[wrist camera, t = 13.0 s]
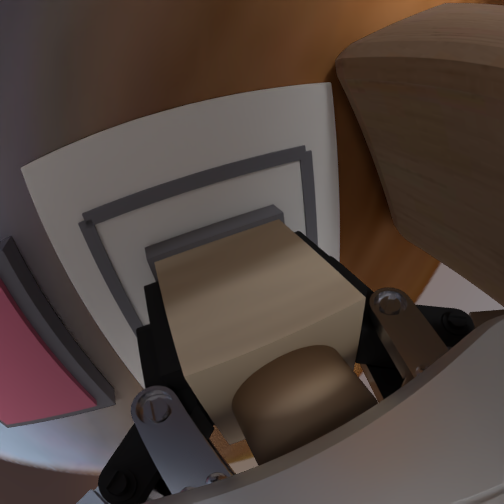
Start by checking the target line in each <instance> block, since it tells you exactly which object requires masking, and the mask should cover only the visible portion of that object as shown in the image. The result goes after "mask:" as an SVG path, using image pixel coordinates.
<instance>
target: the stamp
mask: <svg viewBox="0 0 504 504" xmlns="http://www.w3.org/2000/svg"><path fill="white" fill-rule="evenodd" d="M145 253H146V259H147V262H148V264H149V267H150V269H151V271H152V274H153V276H154V279H155V281H156V282H157V281H159V286H160V290H161V294H162V299H163V303H164V307H165V311H166V315H167V319H168V322H169V326H170V330H171V334H172V337H173V341H174V345H175V348H176V352H177V355H178V358H179V362H180V365H181V368H182V372H183V375H184V378H185V379H186V381H187V382H188V384H189V386H190V387H191V389H192V390H193V392H194V394H195V395H196V397H197V398H198V400H199V401H200V403H201V404H202V406H203V407H204V409H205V410H206V412H207V413H208V415H209V416H210V418H211V419H212V421H213V422H214V424H215V425H216V427H217V428H218V429H219V431H220V432H221V434H222V435H223V437H224V438H225V439H226V441H227V442H228V443H229V445H231V444H233V443H236V442H239V441H241V440H244V439H246V441H247V443H248V445H249V447H250V449H251V451H252V453H253V455H254V457H255V459H256V461H257V463H258V465H259V466H260V465H262V464H264V463H267V462H269V461H272V460H274V459H276V458H279V457H281V456H283V455H285V454H287V453H290V452H292V451H294V450H296V449H298V448H300V447H302V446H304V445H306V444H308V443H310V442H312V441H314V440H316V439H318V438H320V437H322V436H324V435H326V434H328V433H329V432H331V431H333V430H335V429H337V428H338V427H340V426H342V425H344V424H346V423H347V422H349V421H351V420H352V419H354V418H356V417H357V416H359V415H361V414H362V413H364V412H365V411H367V410H369V409H370V408H372V407H373V406H375V405H376V404H378V402H377V400H376V398H375V397H374V396H373V395H372V393H371V392H370V391H369V390H368V389H367V388H366V386H365V385H364V384H363V382H362V381H361V380H360V379H359V377H358V376H357V375H356V374H355V372H354V371H353V370H354V365H355V360H356V355H357V349H358V344H359V338H360V332H361V326H362V320H363V313H364V307H365V299H366V297H365V296H364V295H362V294H361V293H360V292H359V291H358V290H357V289H356V288H355V287H354V286H353V285H352V284H351V283H350V282H349V281H347V280H346V279H345V278H344V277H343V276H342V275H341V274H340V273H339V272H338V271H337V270H335V269H334V268H333V267H332V266H331V265H330V264H329V263H328V262H327V261H326V260H324V259H323V258H322V257H321V256H320V255H319V254H318V253H317V252H316V251H314V250H313V249H312V248H311V247H310V246H309V245H308V244H307V243H306V242H304V241H303V240H302V239H301V238H300V237H299V236H298V235H296V234H295V233H294V232H293V231H292V230H291V229H290V228H288V227H287V226H286V225H285V222H284V213H283V212H282V211H281V210H280V209H279V208H277V207H276V206H275V205H274V204H272V205H269V206H266V207H263V208H260V209H256V210H253V211H250V212H247V213H244V214H241V215H238V216H235V217H232V218H229V219H226V220H223V221H220V222H217V223H214V224H211V225H208V226H205V227H202V228H199V229H196V230H193V231H190V232H187V233H184V234H181V235H179V236H176V237H173V238H170V239H167V240H164V241H161V242H159V243H156V244H153V245H150V246H148V247H145Z"/></svg>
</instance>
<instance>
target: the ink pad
mask: <svg viewBox="0 0 504 504" xmlns="http://www.w3.org/2000/svg"><path fill="white" fill-rule="evenodd" d="M113 405H116V403H115V394H114V388H113V387H112V386H111V385H110V384H109V383H108V382H107V380H106V379H105V378H104V377H103V376H102V375H101V373H100V372H99V371H98V370H97V369H96V367H95V366H94V365H93V364H92V362H91V361H90V360H89V359H88V357H87V356H86V355H85V354H84V352H83V351H82V350H81V349H80V347H79V346H78V345H77V343H76V342H75V341H74V339H73V338H72V336H71V335H70V334H69V332H68V331H67V330H66V328H65V327H64V325H63V324H62V322H61V321H60V319H59V318H58V317H57V315H56V314H55V312H54V311H53V309H52V308H51V306H50V304H49V303H48V301H47V300H46V298H45V297H44V295H43V293H42V292H41V290H40V288H39V287H38V285H37V283H36V282H35V280H34V278H33V277H32V275H31V273H30V271H29V269H28V268H27V266H26V264H25V262H24V260H23V258H22V257H21V255H20V253H19V251H18V249H17V247H16V245H15V243H14V241H13V239H12V237H11V236H10V237H8V238H6V239H4V240H3V241H1V242H0V422H1V423H2V424H3V425H5V426H6V427H7V428H9V427H16V426H22V425H28V424H34V423H39V422H44V421H49V420H54V419H59V418H64V417H68V416H73V415H77V414H81V413H85V412H90V411H94V410H97V409H101V408H105V407H109V406H113Z"/></svg>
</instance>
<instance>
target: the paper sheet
mask: <svg viewBox="0 0 504 504" xmlns="http://www.w3.org/2000/svg"><path fill="white" fill-rule="evenodd" d="M21 171H22V174H23V177H24V180H25V182H26V185H27V188H28V190H29V193H30V195H31V198H32V200H33V203H34V205H35V208H36V210H37V213H38V215H39V217H40V219H41V222H42V224H43V226H44V228H45V231H46V233H47V235H48V237H49V239H50V241H51V243H52V245H53V247H54V250H55V252H56V254H57V256H58V257H59V259H60V261H61V263H62V265H63V267H64V269H65V271H66V273H67V275H68V276H69V278H70V280H71V282H72V284H73V285H74V287H75V289H76V291H77V292H78V294H79V296H80V297H81V299H82V301H83V303H84V304H85V306H86V307H87V309H88V311H89V312H90V314H91V316H92V317H93V319H94V320H95V322H96V323H97V325H98V326H99V328H100V330H101V331H102V333H103V334H104V336H105V337H106V338H107V340H108V341H109V343H110V344H111V346H112V347H113V349H114V350H115V351H116V353H117V354H118V356H119V357H120V358H121V360H122V361H123V362H124V364H125V365H126V367H127V368H128V369H129V370H130V372H131V373H132V374H133V376H134V377H135V378H136V380H137V381H138V382H139V383H140V385H141V386H142V387H143V388H144V389H145V384H144V379H143V373H142V368H141V362H140V355H139V349H138V342H137V335H136V329H137V328H139V327H142V326H144V325H147V324H150V322H149V316H148V311H147V305H146V299H145V292H144V286H145V285H148V284H151V283H154V282H156V281H155V279H154V276H153V274H152V271H151V269H150V267H149V264H148V262H147V259H146V253H145V247H148V246H150V245H153V244H156V243H159V242H161V241H164V240H167V239H170V238H173V237H176V236H179V235H181V234H184V233H187V232H190V231H193V230H196V229H199V228H202V227H205V226H208V225H211V224H214V223H217V222H220V221H223V220H226V219H229V218H232V217H235V216H238V215H241V214H244V213H247V212H250V211H253V210H256V209H260V208H263V207H266V206H269V205H272V204H274V205H275V206H276V207H277V208H279V209H280V210H281V211H282V212H283V213H284V222H285V225H286V226H287V227H288V228H290V229H291V230H292V231H293V232H296V231H300V232H302V233H303V234H304V235H305V236H306V237H308V238H309V239H310V240H311V241H312V242H314V243H315V244H316V245H317V246H318V247H319V248H321V249H322V250H323V251H324V252H325V253H326V254H328V255H329V256H332V257H334V258H335V259H336V260H337V261H338V262H340V207H339V175H338V156H337V140H336V127H335V115H334V104H333V95H332V85H331V82H326V83H314V84H303V85H293V86H285V87H277V88H270V89H263V90H257V91H251V92H245V93H239V94H234V95H229V96H223V97H219V98H214V99H209V100H205V101H200V102H196V103H192V104H188V105H184V106H180V107H176V108H173V109H169V110H165V111H162V112H158V113H155V114H152V115H148V116H145V117H142V118H139V119H136V120H133V121H129V122H126V123H124V124H121V125H118V126H115V127H112V128H109V129H107V130H104V131H101V132H99V133H96V134H93V135H91V136H88V137H86V138H83V139H81V140H78V141H76V142H74V143H71V144H69V145H67V146H64V147H62V148H60V149H58V150H55V151H53V152H51V153H49V154H47V155H45V156H43V157H41V158H39V159H37V160H35V161H33V162H31V163H29V164H27V165H25V166H23V167H21Z"/></svg>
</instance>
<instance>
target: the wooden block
mask: <svg viewBox="0 0 504 504" xmlns="http://www.w3.org/2000/svg"><path fill="white" fill-rule="evenodd" d="M335 65H336V72H337V77H338V79H339V81H340V83H341V85H342V87H343V89H344V91H345V93H346V96H347V98H348V100H349V102H350V104H351V107H352V109H353V111H354V113H355V116H356V118H357V120H358V123H359V125H360V128H361V130H362V132H363V135H364V137H365V140H366V143H367V145H368V148H369V150H370V153H371V156H372V158H373V161H374V164H375V167H376V169H377V172H378V175H379V178H380V181H381V184H382V187H383V190H384V193H385V196H386V199H387V203H388V206H389V209H390V212H391V216H392V219H393V223H394V225H395V227H396V228H397V230H398V231H399V233H400V234H401V235H402V236H403V237H404V238H405V239H406V240H407V241H409V242H411V243H412V244H414V245H416V246H417V247H419V248H420V249H422V250H423V251H425V252H426V253H428V254H430V255H431V256H433V257H434V258H436V259H437V260H439V261H440V262H442V263H443V264H445V265H446V266H448V267H449V268H451V269H452V270H454V271H455V272H457V273H458V274H459V275H461V276H462V277H464V278H465V279H467V280H468V281H469V282H471V283H472V284H474V285H475V286H476V287H478V288H479V289H481V290H482V291H483V292H485V293H486V294H488V295H489V296H490V297H491V298H493V299H494V300H495V301H497V302H498V303H499V304H501V305H502V306H503V307H504V6H503V5H492V4H475V3H445V4H442V5H439V6H436V7H433V8H431V9H428V10H425V11H423V12H420V13H418V14H415V15H413V16H410V17H408V18H405V19H403V20H401V21H398V22H396V23H394V24H391V25H389V26H387V27H385V28H383V29H380V30H378V31H376V32H374V33H372V34H370V35H368V36H366V37H364V38H362V39H360V40H358V41H356V42H354V43H352V44H350V45H349V46H348V47H347V48H346V49H345V50H343V51H342V52H341V53H340V55H339V56H338V57H337V59H336V60H335Z"/></svg>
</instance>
